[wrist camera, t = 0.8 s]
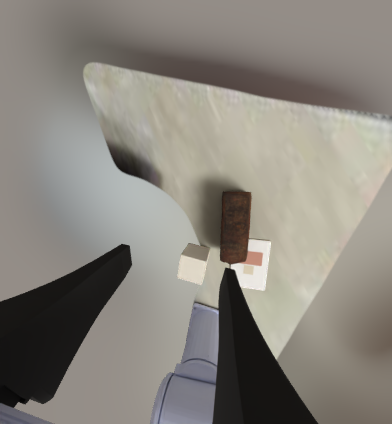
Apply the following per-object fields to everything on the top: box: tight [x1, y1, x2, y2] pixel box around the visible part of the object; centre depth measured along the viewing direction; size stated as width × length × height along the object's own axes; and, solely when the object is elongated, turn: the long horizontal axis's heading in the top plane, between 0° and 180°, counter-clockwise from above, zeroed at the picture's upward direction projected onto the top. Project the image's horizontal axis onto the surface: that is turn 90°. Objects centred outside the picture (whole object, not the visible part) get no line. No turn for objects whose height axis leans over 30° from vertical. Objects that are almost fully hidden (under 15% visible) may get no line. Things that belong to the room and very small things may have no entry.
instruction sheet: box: [231, 239, 271, 291], centre depth 26 cm, size 9×6×1 cm, turn 178°
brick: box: [220, 191, 251, 264], centre depth 23 cm, size 11×4×5 cm, turn 0°
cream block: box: [177, 243, 210, 285], centre depth 26 cm, size 4×4×5 cm
